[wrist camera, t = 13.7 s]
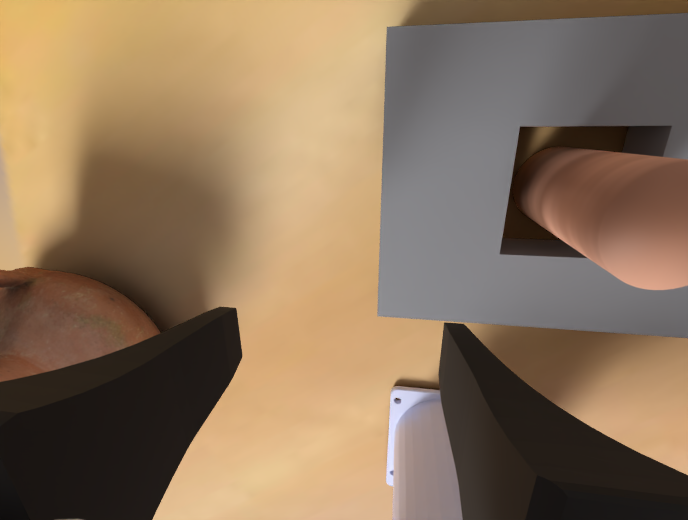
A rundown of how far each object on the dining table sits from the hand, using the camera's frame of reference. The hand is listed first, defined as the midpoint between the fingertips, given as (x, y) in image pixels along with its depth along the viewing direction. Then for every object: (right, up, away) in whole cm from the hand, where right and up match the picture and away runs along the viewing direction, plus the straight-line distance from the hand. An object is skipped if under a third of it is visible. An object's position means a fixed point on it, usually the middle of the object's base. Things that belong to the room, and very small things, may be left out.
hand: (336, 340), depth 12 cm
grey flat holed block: (+11, +7, +7) cm, 15 cm away
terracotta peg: (+11, +7, +7) cm, 15 cm away
